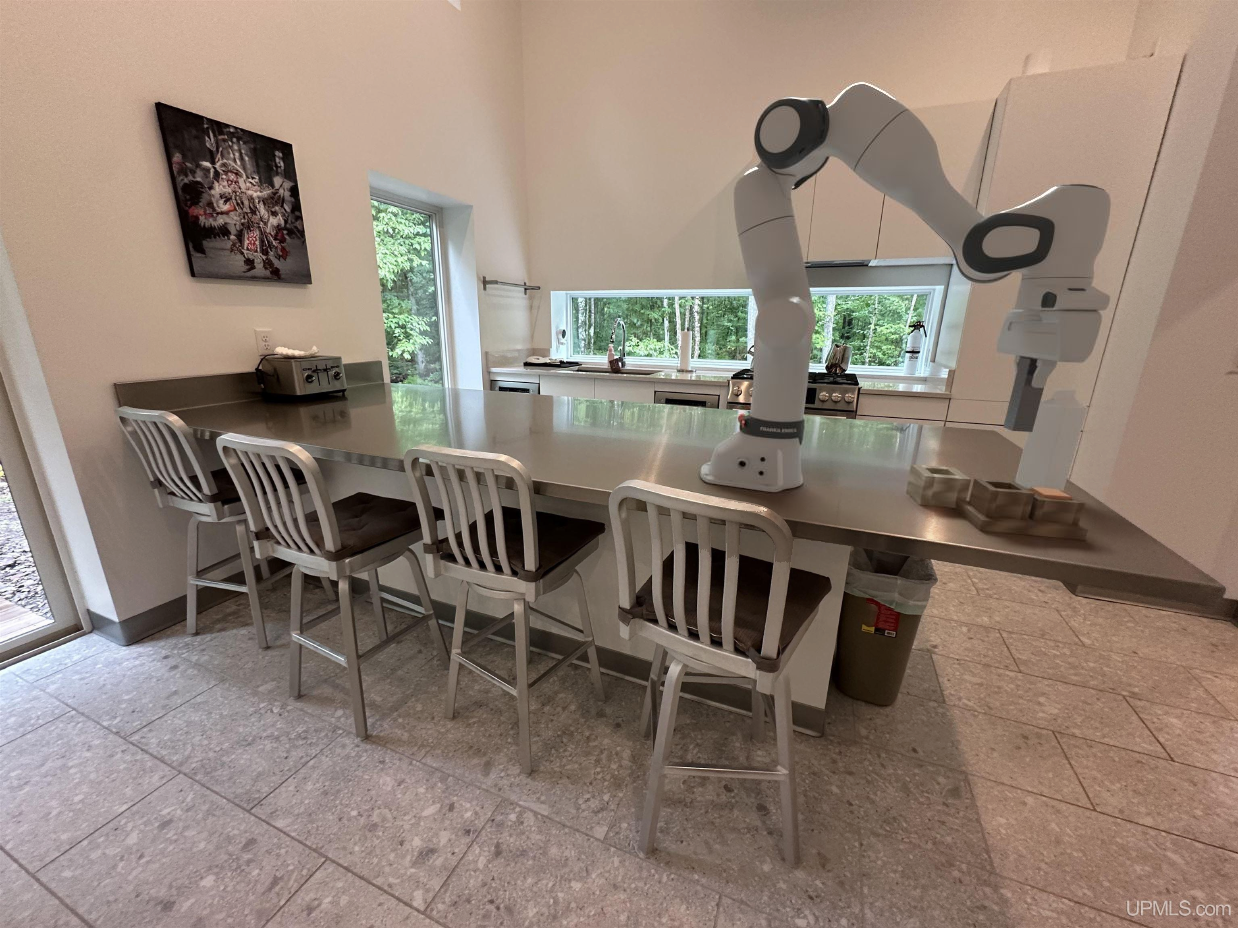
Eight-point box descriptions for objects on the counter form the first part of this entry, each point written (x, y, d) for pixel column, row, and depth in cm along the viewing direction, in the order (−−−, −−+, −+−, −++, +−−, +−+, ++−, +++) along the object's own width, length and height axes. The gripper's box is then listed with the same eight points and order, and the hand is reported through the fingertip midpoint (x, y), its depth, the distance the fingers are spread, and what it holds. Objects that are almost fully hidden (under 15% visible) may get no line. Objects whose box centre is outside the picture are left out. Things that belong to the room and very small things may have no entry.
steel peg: (1012, 430, 85) (1030, 359, 82) (1003, 427, 88) (1020, 357, 85) (1032, 432, 85) (1051, 360, 81) (1022, 428, 88) (1040, 358, 84)
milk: (1012, 488, 110) (1037, 387, 104) (1033, 486, 111) (1059, 387, 105) (1041, 498, 104) (1069, 392, 98) (1063, 496, 106) (1092, 391, 99)
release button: (1038, 515, 88) (1044, 494, 87) (1025, 507, 92) (1031, 487, 90) (1064, 518, 87) (1071, 496, 86) (1050, 509, 91) (1056, 488, 90)
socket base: (979, 530, 88) (988, 492, 86) (955, 509, 97) (963, 475, 95) (1085, 540, 85) (1097, 501, 83) (1049, 517, 94) (1059, 482, 92)
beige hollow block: (919, 504, 99) (925, 475, 97) (906, 491, 107) (911, 464, 105) (964, 508, 98) (971, 479, 96) (947, 494, 105) (953, 467, 103)
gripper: (996, 300, 91) (978, 377, 95) (1068, 296, 71) (1042, 393, 75) (1036, 300, 89) (1016, 378, 93) (1120, 297, 70) (1090, 395, 74)
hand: (1028, 385), depth 84 cm, fingers closed on steel peg, 3 cm apart
